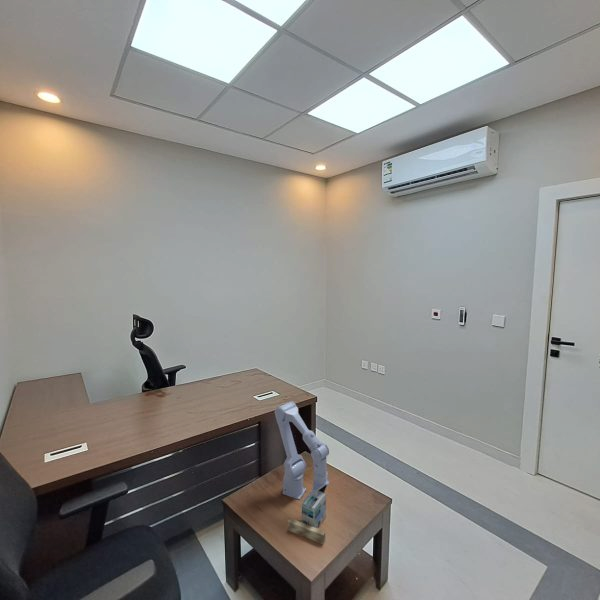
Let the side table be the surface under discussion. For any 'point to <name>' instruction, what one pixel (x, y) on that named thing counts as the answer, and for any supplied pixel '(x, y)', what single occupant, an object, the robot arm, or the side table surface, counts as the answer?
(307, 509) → the light bulb box
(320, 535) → the metal block
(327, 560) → the side table surface
